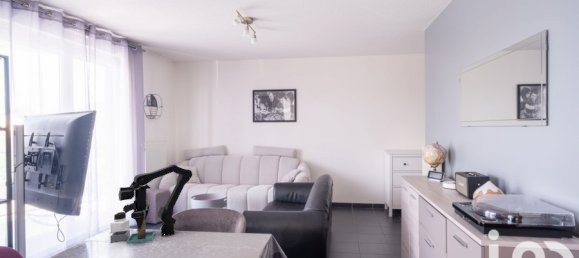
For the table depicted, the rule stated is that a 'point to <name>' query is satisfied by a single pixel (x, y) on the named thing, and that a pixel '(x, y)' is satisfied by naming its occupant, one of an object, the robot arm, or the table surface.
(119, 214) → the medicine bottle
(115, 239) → the grey square open box
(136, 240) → the tray
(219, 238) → the table surface
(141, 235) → the walnut dowel
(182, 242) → the table surface
